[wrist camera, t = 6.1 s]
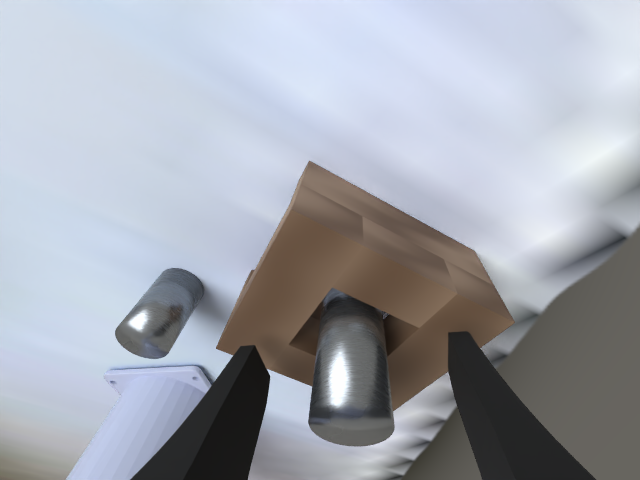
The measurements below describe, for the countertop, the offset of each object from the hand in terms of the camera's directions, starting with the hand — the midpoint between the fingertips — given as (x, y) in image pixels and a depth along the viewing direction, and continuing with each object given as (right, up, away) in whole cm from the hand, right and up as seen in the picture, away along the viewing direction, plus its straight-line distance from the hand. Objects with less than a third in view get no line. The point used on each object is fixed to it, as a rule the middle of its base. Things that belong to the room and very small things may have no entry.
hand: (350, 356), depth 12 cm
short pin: (-9, +2, +6) cm, 11 cm away
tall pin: (+1, +3, +4) cm, 5 cm away
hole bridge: (+1, +3, +4) cm, 5 cm away
